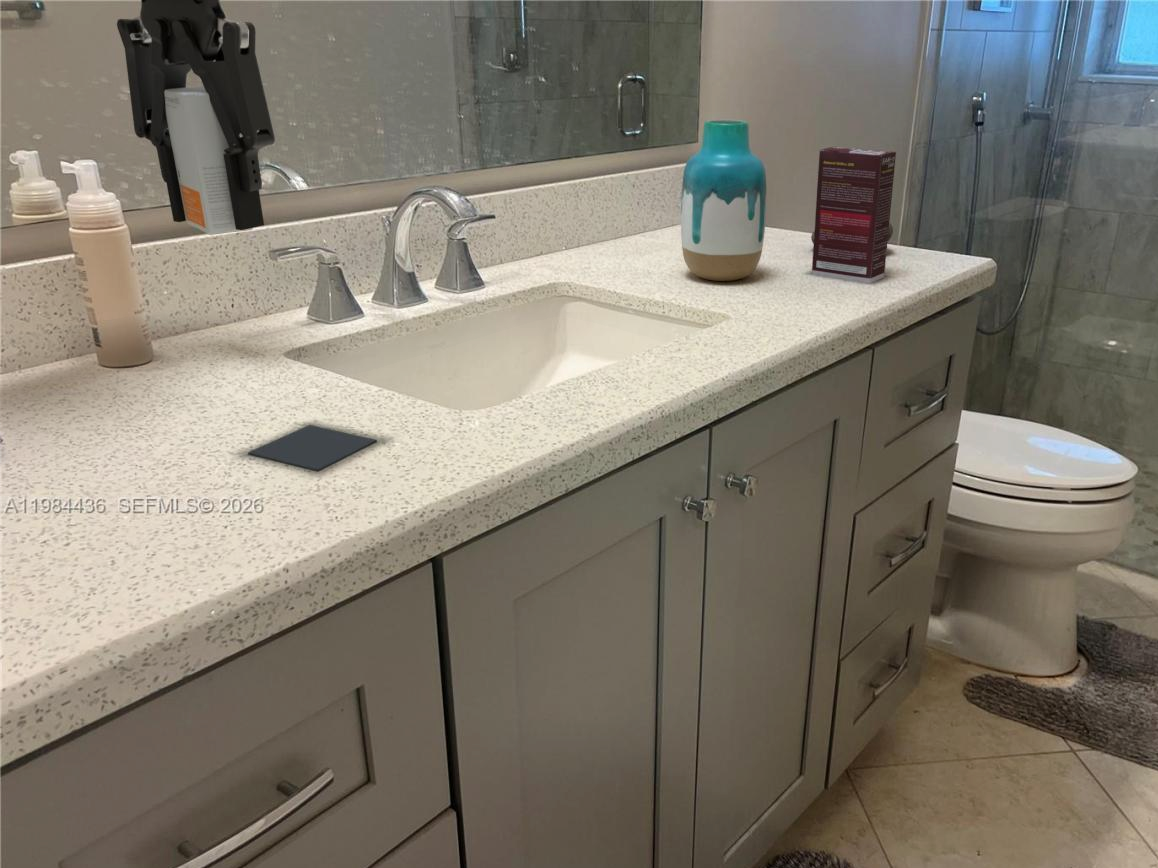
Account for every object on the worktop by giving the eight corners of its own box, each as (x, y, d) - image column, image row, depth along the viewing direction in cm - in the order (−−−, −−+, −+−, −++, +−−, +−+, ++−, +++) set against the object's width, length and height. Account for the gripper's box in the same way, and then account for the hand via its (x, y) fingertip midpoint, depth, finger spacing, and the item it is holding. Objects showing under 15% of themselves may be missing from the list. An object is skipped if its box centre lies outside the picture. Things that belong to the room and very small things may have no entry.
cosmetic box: (184, 225, 97) (159, 88, 92) (230, 220, 100) (208, 86, 95) (207, 236, 93) (182, 92, 88) (255, 230, 96) (233, 90, 90)
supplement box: (885, 279, 135) (898, 150, 128) (869, 286, 131) (882, 154, 124) (825, 269, 139) (835, 145, 132) (808, 276, 136) (818, 148, 129)
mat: (248, 458, 80) (247, 452, 79) (310, 430, 85) (309, 424, 85) (318, 475, 77) (317, 469, 77) (377, 445, 82) (377, 439, 82)
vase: (778, 283, 132) (788, 123, 123) (709, 293, 127) (714, 127, 118) (731, 266, 140) (737, 115, 131) (664, 275, 135) (665, 119, 126)
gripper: (295, -56, 86) (331, 226, 96) (123, -55, 93) (173, 207, 103) (225, -62, 79) (271, 241, 90) (46, -60, 87) (107, 220, 97)
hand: (218, 222), depth 96 cm, fingers closed on cosmetic box, 7 cm apart
